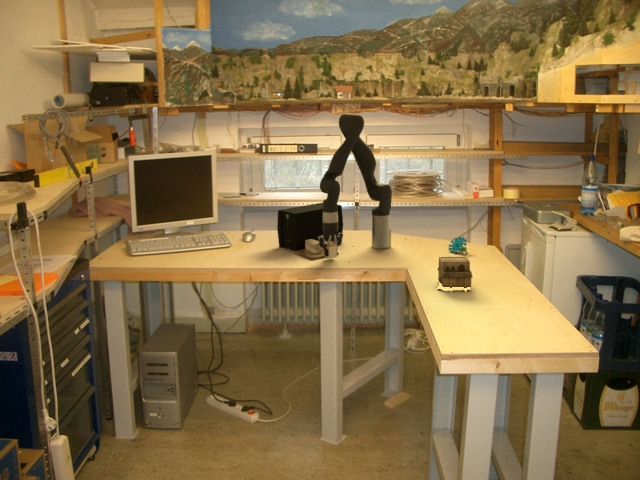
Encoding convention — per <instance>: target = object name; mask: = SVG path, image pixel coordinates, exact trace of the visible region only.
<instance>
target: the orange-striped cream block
mask: <svg viewBox="0 0 640 480" xmlns="http://www.w3.org/2000/svg"><path fill="white" fill-rule="evenodd" d="M328 249H329V256H325V257H326V258H327V259H335V258H337V257H338V255H337V252H338V247H337V243H333V242H330V244H329V247H328Z"/></svg>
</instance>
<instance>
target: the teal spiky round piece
mask: <svg viewBox="0 0 640 480" xmlns="http://www.w3.org/2000/svg"><path fill="white" fill-rule="evenodd" d="M453 239H454V240H453ZM453 239H452V240H450V243H449V244H448V251H449V252H450V253H454V254H457V252H458V253H461V252H465V254H468V251H467V250H468V248H467V247H466V246H467V241H468V240H467V239H466V238H465V236H462V237H461V236H458V238H457V237H454V238H453Z"/></svg>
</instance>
